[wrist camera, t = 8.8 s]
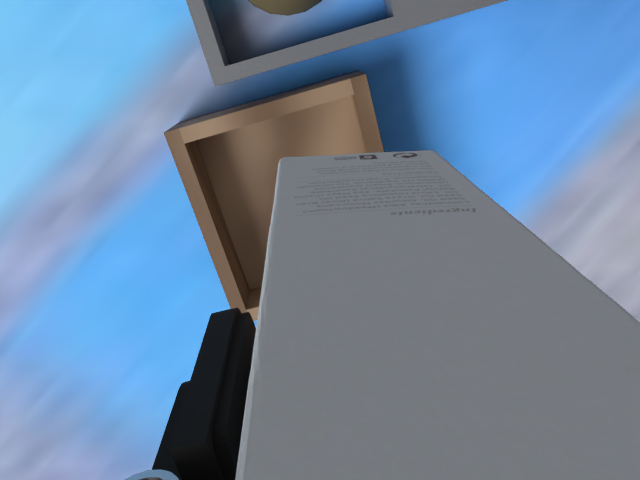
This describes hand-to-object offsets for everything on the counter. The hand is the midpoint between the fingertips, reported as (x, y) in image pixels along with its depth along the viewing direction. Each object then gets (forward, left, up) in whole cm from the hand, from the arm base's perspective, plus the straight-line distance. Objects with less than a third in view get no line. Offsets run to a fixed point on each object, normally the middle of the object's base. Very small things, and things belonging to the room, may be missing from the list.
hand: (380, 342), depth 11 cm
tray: (+2, +2, -21) cm, 22 cm away
